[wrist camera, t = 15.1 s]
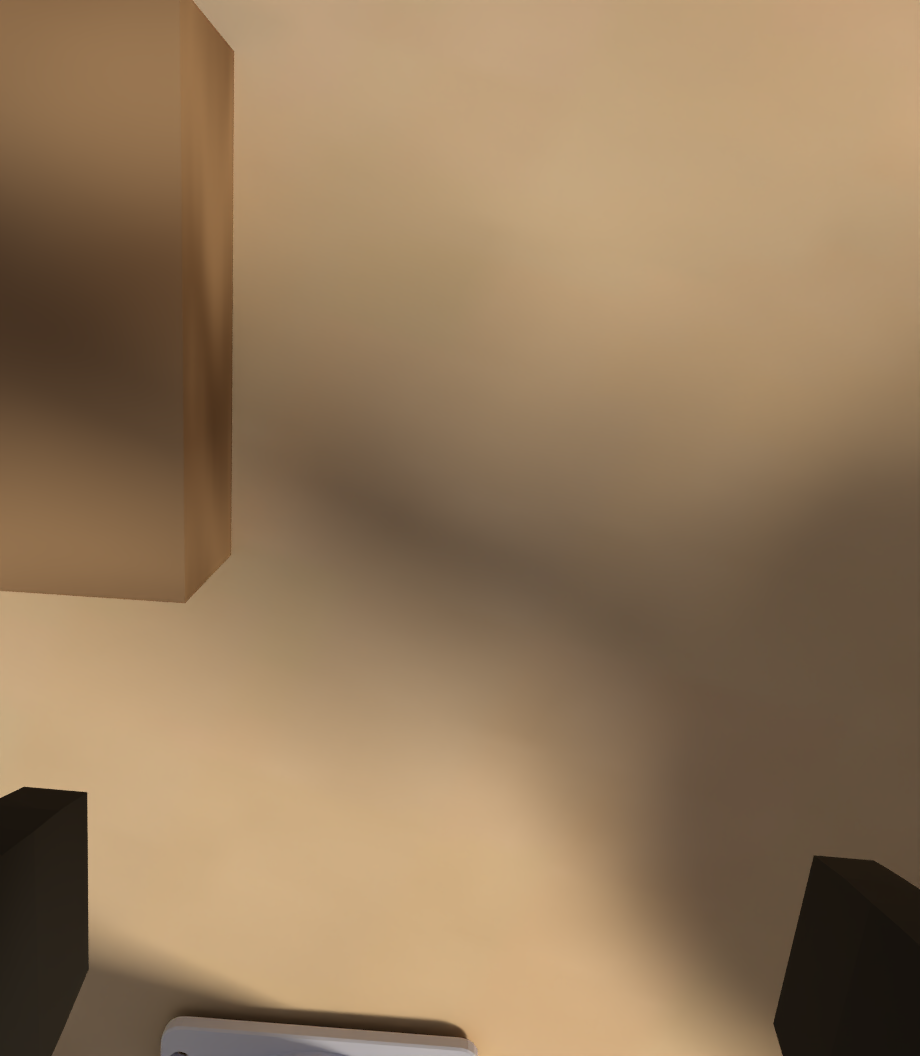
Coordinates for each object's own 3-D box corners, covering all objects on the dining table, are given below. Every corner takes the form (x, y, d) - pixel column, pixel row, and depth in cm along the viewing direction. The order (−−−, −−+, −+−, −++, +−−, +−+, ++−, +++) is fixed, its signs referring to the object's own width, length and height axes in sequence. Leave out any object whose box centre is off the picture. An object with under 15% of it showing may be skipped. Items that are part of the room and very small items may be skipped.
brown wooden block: (234, 551, 18) (184, 603, 15) (-37, 532, 18) (-150, 581, 15) (238, 56, 16) (179, -16, 12) (-76, 30, 16) (-221, -50, 12)
